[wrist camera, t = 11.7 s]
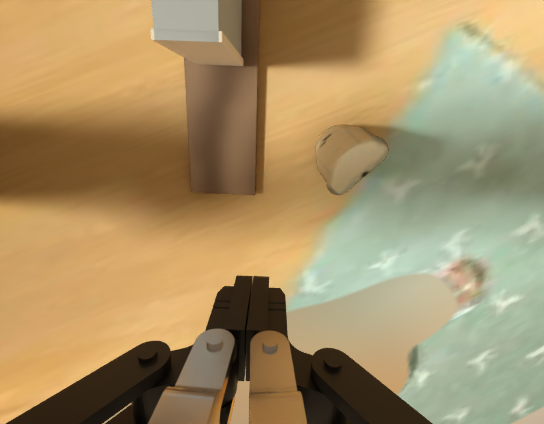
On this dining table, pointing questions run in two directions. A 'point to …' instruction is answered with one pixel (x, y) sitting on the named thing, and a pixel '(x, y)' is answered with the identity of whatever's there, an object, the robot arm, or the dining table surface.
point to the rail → (225, 116)
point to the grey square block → (200, 29)
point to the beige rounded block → (347, 156)
